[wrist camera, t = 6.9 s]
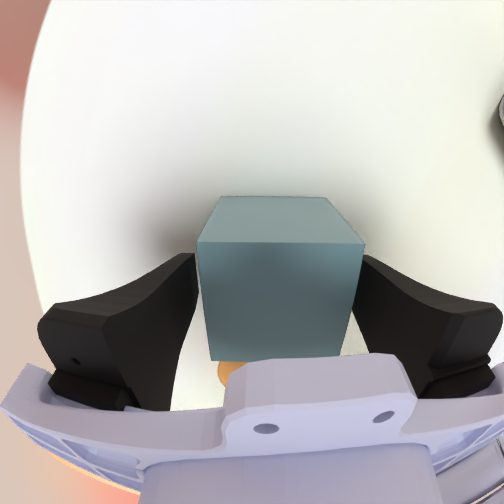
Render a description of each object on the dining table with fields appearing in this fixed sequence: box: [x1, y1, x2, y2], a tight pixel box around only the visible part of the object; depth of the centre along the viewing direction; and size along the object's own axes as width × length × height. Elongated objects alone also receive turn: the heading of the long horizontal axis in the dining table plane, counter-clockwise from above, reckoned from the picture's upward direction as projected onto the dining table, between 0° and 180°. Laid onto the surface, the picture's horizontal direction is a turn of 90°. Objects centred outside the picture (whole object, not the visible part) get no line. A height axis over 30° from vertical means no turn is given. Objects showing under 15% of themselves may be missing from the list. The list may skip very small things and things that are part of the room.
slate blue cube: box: [196, 196, 365, 362], centre depth 12 cm, size 6×6×6 cm
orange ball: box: [218, 361, 249, 387], centre depth 18 cm, size 3×3×3 cm
